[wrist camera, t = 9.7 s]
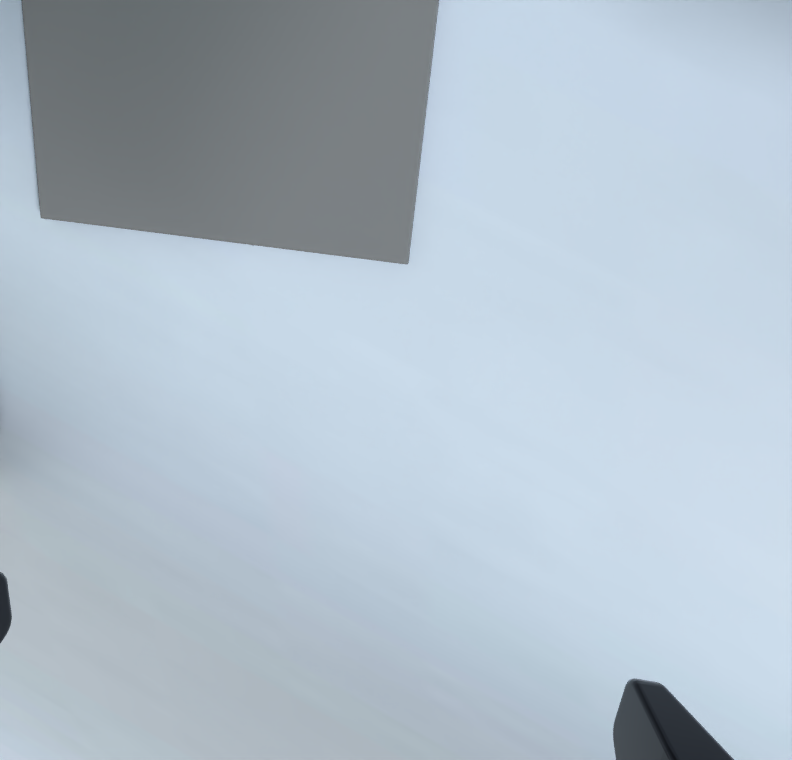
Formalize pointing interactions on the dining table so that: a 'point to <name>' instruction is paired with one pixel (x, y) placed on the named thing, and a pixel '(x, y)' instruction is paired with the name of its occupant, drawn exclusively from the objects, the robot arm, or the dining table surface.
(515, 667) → the dining table surface
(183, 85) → the mat
